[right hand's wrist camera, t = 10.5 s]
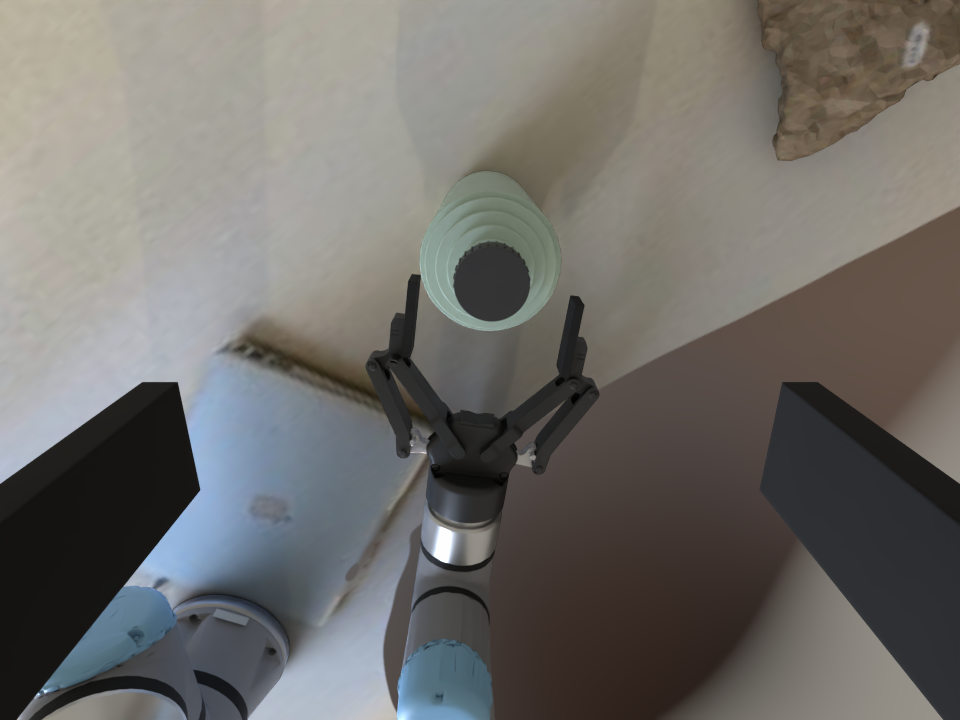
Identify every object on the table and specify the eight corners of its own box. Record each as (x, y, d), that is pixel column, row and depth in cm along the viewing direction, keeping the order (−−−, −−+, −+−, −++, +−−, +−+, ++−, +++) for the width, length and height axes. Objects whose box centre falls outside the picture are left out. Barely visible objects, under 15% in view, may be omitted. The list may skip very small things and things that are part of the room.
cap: (534, 305, 30) (537, 314, 28) (462, 320, 30) (462, 329, 28) (521, 233, 28) (523, 238, 27) (446, 249, 29) (444, 255, 27)
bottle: (539, 253, 52) (584, 343, 29) (453, 270, 53) (431, 372, 30) (523, 161, 49) (559, 182, 26) (432, 181, 50) (391, 218, 27)
